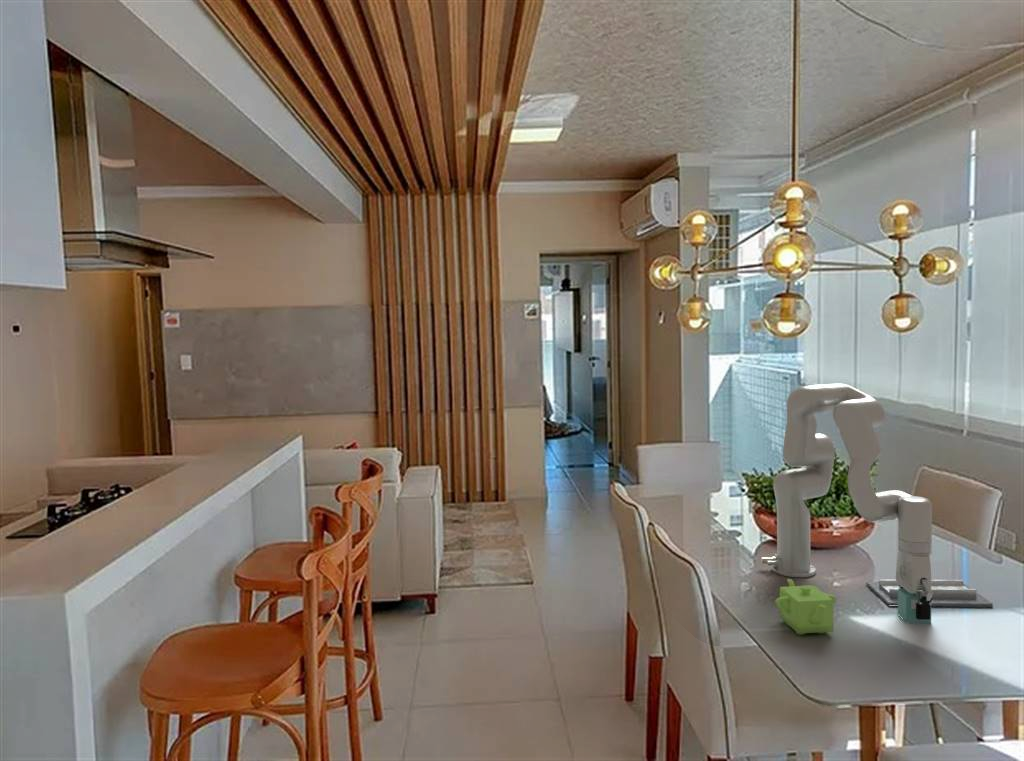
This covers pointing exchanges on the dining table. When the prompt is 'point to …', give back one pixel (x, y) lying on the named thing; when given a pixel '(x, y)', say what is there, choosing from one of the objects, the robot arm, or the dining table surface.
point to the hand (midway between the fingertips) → (914, 611)
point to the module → (909, 607)
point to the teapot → (806, 608)
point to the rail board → (934, 593)
